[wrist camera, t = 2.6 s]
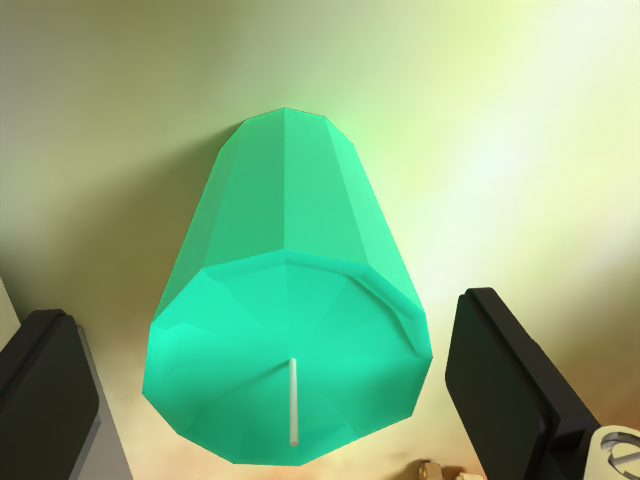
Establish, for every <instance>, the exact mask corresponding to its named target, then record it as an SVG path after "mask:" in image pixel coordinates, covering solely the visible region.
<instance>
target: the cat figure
mask: <svg viewBox="0 0 640 480" xmlns="http://www.w3.org/2000/svg"><path fill="white" fill-rule="evenodd" d="M418 474H419V479H418V480H442V479H443V477H442V472H441V468H440V464H435V463H421V465H420V468H419V470H418ZM455 480H485V479H483V478H482V476H479V474H470V473H460V474H459V476H458V477H456V479H455Z"/></svg>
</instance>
